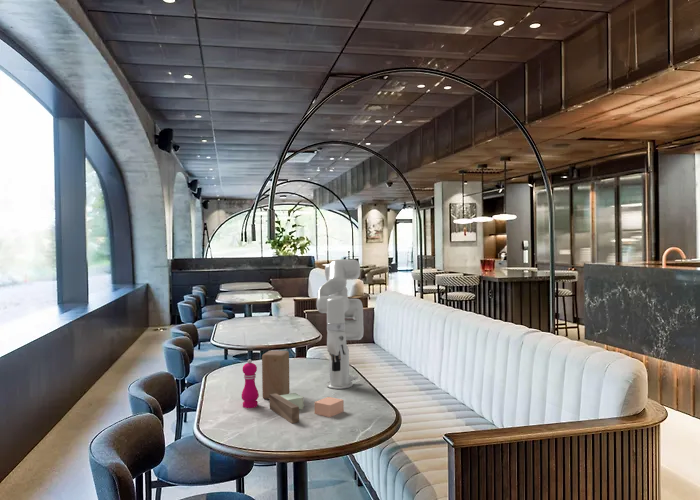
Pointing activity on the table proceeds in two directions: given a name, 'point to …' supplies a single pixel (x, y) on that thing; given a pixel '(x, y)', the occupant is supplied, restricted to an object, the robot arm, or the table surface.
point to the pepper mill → (250, 386)
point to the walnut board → (284, 408)
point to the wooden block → (275, 373)
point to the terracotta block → (329, 406)
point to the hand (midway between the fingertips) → (336, 370)
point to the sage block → (294, 399)
